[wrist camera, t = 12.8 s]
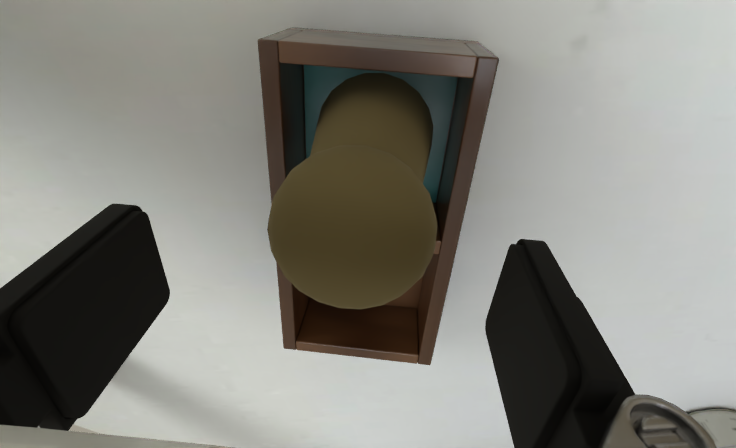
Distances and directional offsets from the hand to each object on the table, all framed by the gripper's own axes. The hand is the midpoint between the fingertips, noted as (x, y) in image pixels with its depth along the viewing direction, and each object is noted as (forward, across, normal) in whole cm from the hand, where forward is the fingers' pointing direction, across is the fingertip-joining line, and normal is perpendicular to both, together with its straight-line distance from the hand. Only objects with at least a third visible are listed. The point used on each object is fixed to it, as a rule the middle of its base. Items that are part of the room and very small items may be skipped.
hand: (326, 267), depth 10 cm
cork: (+12, -1, 0) cm, 12 cm away
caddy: (+13, -1, +4) cm, 13 cm away
